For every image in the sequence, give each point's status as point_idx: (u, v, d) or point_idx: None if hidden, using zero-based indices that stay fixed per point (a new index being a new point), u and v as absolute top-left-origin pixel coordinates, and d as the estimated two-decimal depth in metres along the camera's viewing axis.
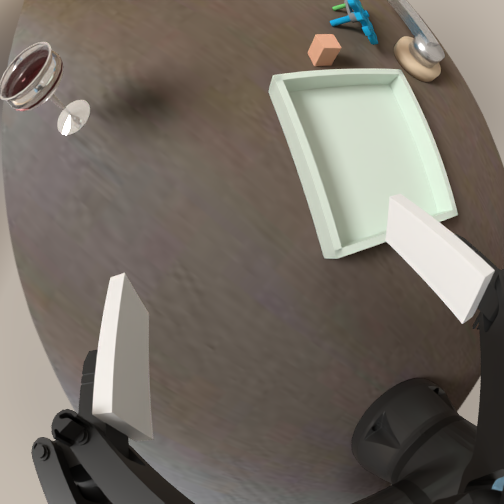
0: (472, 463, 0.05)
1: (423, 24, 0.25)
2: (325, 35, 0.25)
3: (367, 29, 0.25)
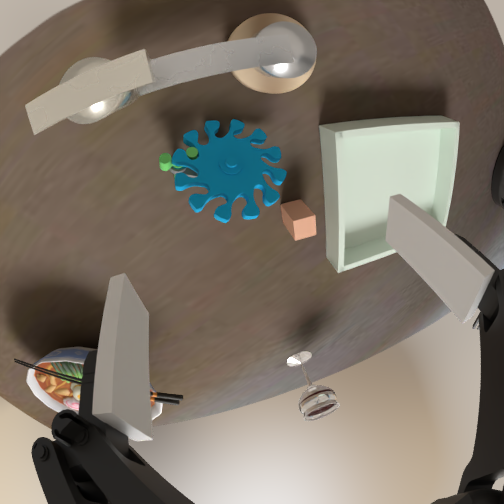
0: (472, 463, 0.05)
1: (238, 47, 0.16)
2: (296, 230, 0.29)
3: None
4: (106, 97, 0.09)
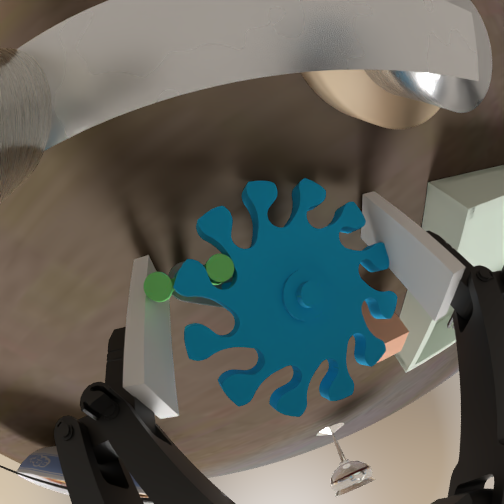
0: (459, 467, 0.05)
1: (383, 2, 0.04)
2: None
3: None
4: None
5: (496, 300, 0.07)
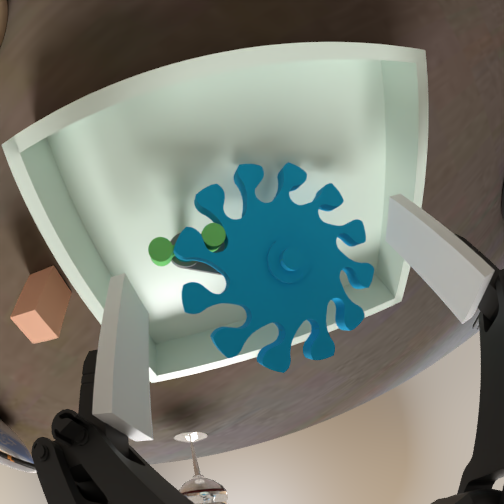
0: (472, 463, 0.05)
1: None
2: (23, 330, 0.12)
3: None
4: None
5: None
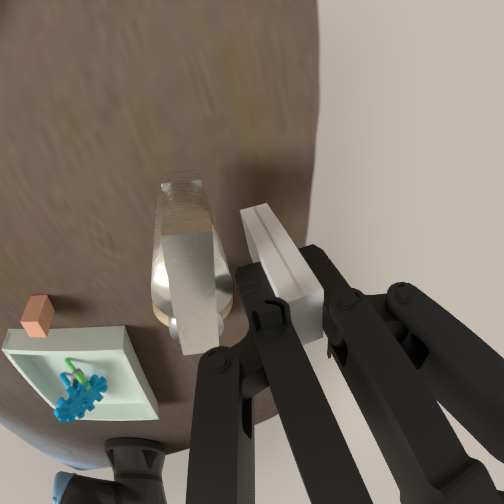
0: (403, 496, 0.05)
1: None
2: (29, 323, 0.21)
3: None
4: (178, 324, 0.10)
5: (373, 326, 0.08)
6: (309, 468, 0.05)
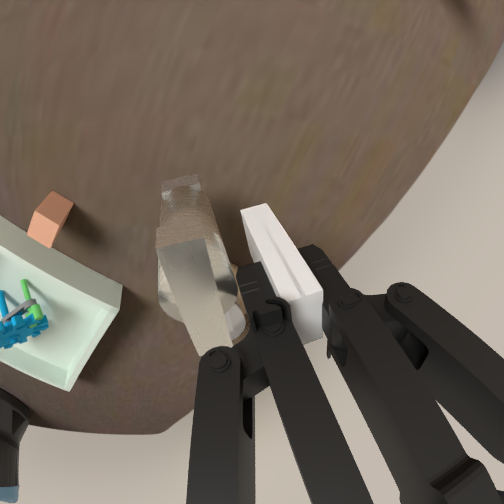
0: (403, 497, 0.05)
1: None
2: (46, 220, 0.17)
3: None
4: (188, 328, 0.11)
5: (373, 326, 0.08)
6: (310, 468, 0.05)
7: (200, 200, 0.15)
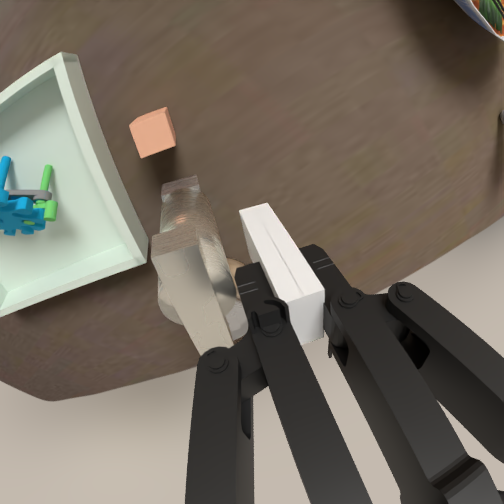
0: (404, 496, 0.05)
1: None
2: (166, 130, 0.16)
3: None
4: (189, 331, 0.11)
5: (374, 325, 0.08)
6: (308, 468, 0.05)
7: (199, 202, 0.15)
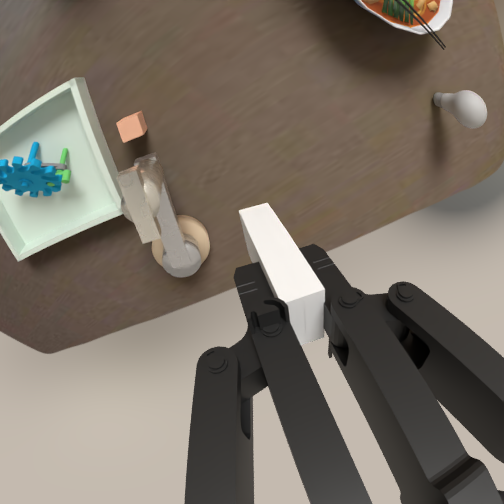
0: (404, 496, 0.05)
1: (176, 239, 0.32)
2: (138, 125, 0.26)
3: None
4: (134, 222, 0.21)
5: (374, 325, 0.08)
6: (308, 468, 0.05)
7: (152, 165, 0.25)
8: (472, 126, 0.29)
